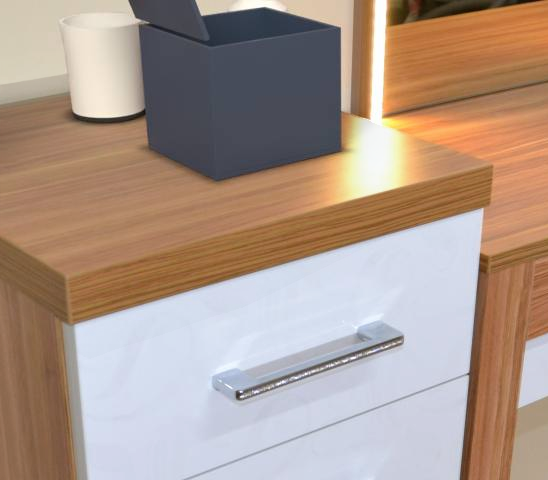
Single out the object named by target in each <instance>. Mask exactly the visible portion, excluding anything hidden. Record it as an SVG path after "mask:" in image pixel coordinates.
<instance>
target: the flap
mask: <svg viewBox="0 0 548 480" xmlns="http://www.w3.org/2000/svg"><path fill="white" fill-rule="evenodd" d="M127 1H128V4H129V6H130V8H131V10H132V11H131V12H132V14H134V15H135V18H137V19H140V20H143V21H146V22H149V23H152V24H155V25H158V26H161V27H164V28H167V29H170V30H173V31H176V32H179V33H182V34H185V35H188V36H191V37H194V38H197V39H200V40H203V41H208V40H209V39H210V37H209V35H208V32H207V29H206V27H205V24H204V22H203V19H202V16H203V15H202V14H201V12H200V11H201V10H200V9H199V5H198V3H197V1H196V0H127Z"/></svg>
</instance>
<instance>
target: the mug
mask: <svg viewBox="0 0 548 480" xmlns="http://www.w3.org/2000/svg"><path fill="white" fill-rule="evenodd" d="M146 23H149V22H146V21H143V20H140V19H137V18H135V15H134V13H129V12H128V13H127V12H119V11H98V12H96V11H93V12H84V13H78V14H72V15H68V16H65V17H62V18H60V19H59V20H58V26H59V30H60V35H61V40H62V45H63V50H64V51H63V52H64V58H65V66H66V72H67V73H66V74H67V80H68V88H69V95H70V103H71V109H72V110H71V111H72V115H73V116H74V117H75V118H76V119H77V120H80V121H82V122H89V123H98V124H99V123H101V124H104V123H105V124H106V123H107V124H109V123H120V122H126V121H127V122H128V121H131V120H134V119H137V118H141V117H142V116H143V115H144V113H146V112H145V100H144V87H143V75H142V63H141V51H140V38H139V26H138V25H139V24H146Z"/></svg>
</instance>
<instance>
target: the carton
mask: <svg viewBox="0 0 548 480" xmlns="http://www.w3.org/2000/svg"><path fill="white" fill-rule="evenodd" d="M201 16H202V19H203V22H204V24H205V27H206V29H207V32H208V35H209V37H210V39H209V40H208V41H203V40H200V39H197V38H194V37H191V36H188V35H185V34H182V33H179V32H176V31H173V30H170V29H167V28H164V27H161V26H158V25H155V24H152V23H146V24H139V25H138V26H139V38H140V51H141V63H142V75H143V87H144V100H145V112H144V113H145V124H146V134H147V135H146V136H147V147H148V149H150V150H152V151H154V152H157V153H158V154H160V155H162V156H164V157H166V158H168V159H170V160H173V161H174V162H177V163H178V164H181V165H183V166H185V167H186V168H189V169H191V170H193V171H196V172H197V173H199V174H202V175H203V176H206V177H208V178H210V179H212V180H214V181H216V182H218V181H222V180H226V179H229V178H235V177H239V176H243V175H246V174H252V173H256V172H260V171H263V170H268V169H272V168H275V167H280V166H284V165H288V164H292V163H297V162H301V161H307V160H310V159H314V158H318V157H323V156H326V155H331V154H334V153H339V152H342V27H341V26H337V25H334V24H330V23H326V22H322V21H318V20H316V19H312V18H308V17H304V16H301V15H297V14H294V13H289V12H288V13H286V12H283V11H279V10H275V9H272V8H268V7H260V8H252V9H245V10H238V11H231V12H227V11H224V12H217V13H211V14H203V15H201Z"/></svg>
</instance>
